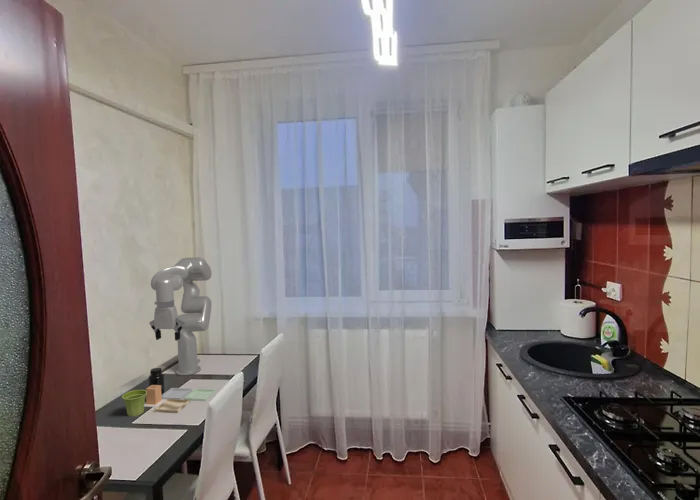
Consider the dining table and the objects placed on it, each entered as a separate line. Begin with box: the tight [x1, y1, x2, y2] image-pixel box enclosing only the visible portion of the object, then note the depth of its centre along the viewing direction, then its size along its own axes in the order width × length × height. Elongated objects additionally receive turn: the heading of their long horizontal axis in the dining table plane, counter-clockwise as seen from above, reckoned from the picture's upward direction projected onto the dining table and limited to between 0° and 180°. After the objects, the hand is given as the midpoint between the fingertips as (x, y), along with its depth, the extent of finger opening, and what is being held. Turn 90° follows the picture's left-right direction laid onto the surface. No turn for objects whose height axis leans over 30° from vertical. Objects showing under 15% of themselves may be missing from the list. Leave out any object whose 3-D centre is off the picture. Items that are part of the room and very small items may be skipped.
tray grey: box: [161, 387, 193, 400], centre depth 191 cm, size 11×11×2 cm
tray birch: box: [153, 399, 191, 414], centre depth 179 cm, size 11×11×2 cm
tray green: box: [182, 388, 217, 402], centre depth 190 cm, size 11×11×2 cm
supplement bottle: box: [147, 367, 166, 395], centre depth 194 cm, size 7×7×12 cm
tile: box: [144, 399, 166, 408], centre depth 183 cm, size 8×8×1 cm
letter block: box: [145, 385, 163, 405], centre depth 183 cm, size 4×5×7 cm
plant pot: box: [121, 389, 147, 417], centre depth 173 cm, size 9×9×9 cm
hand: (168, 339), depth 194 cm, fingers open, 9 cm apart
